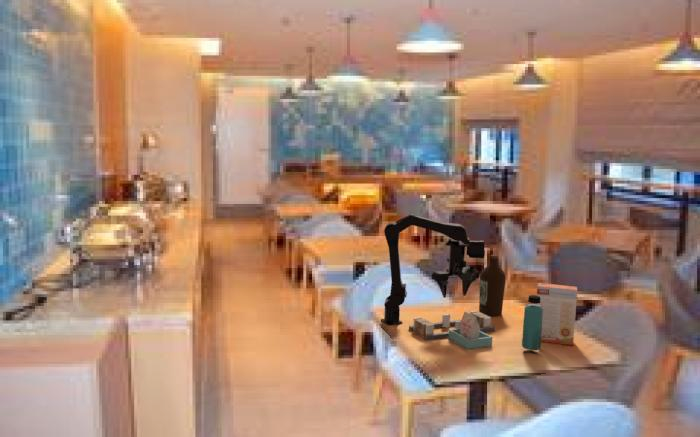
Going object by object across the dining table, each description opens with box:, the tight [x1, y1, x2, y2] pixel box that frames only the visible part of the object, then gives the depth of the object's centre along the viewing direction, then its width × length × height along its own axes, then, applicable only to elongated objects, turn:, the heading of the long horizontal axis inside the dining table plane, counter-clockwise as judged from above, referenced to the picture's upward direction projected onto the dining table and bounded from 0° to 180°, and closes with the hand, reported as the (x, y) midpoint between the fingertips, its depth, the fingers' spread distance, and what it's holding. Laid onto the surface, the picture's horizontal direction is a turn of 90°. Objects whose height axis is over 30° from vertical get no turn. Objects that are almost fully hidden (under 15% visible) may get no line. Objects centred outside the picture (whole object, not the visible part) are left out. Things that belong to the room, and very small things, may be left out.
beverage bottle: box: [521, 294, 543, 351], centre depth 221 cm, size 6×7×20 cm
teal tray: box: [447, 328, 493, 351], centre depth 229 cm, size 12×10×4 cm
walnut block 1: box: [413, 318, 434, 338], centre depth 236 cm, size 6×4×5 cm, turn 25°
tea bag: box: [459, 311, 480, 340], centre depth 229 cm, size 4×7×10 cm, turn 26°
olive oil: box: [478, 254, 507, 317], centre depth 266 cm, size 11×11×25 cm
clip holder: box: [408, 310, 496, 341], centre depth 242 cm, size 13×31×5 cm, turn 116°
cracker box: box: [535, 282, 578, 346], centre depth 233 cm, size 14×6×21 cm, turn 71°
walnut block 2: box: [472, 311, 490, 328], centre depth 248 cm, size 6×4×5 cm, turn 25°
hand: (454, 296), depth 245 cm, fingers open, 9 cm apart
